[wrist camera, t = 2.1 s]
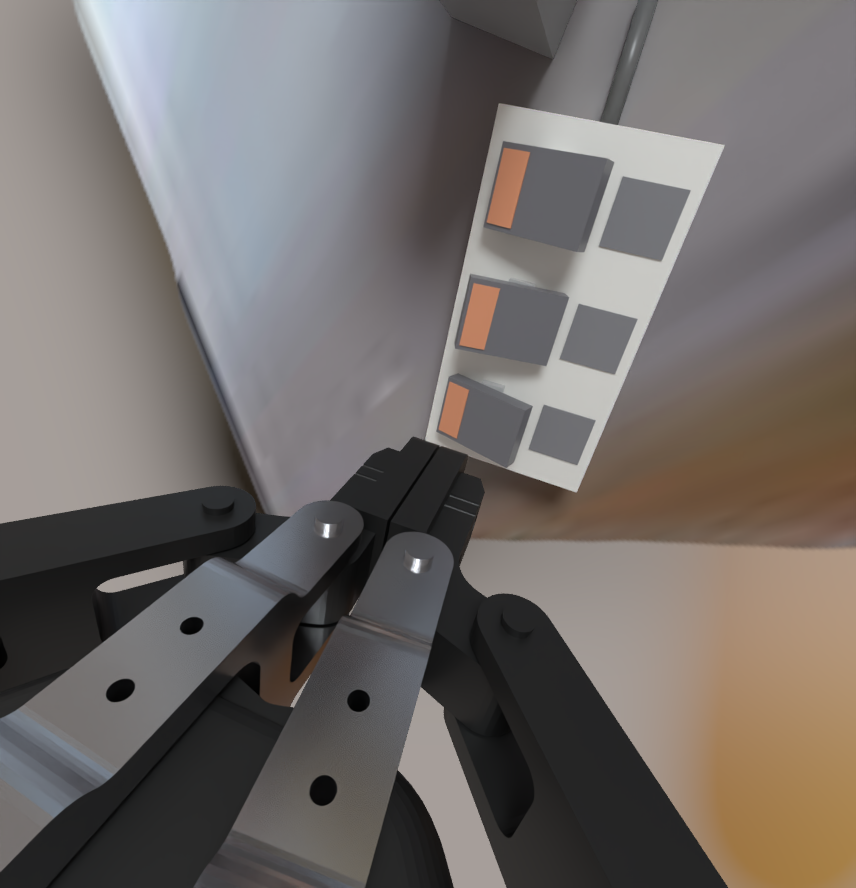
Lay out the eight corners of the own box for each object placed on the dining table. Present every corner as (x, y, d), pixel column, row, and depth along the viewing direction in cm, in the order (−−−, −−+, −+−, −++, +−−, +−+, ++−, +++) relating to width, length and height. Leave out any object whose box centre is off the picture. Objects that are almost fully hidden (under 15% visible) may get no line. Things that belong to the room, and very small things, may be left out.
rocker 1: (614, 162, 24) (607, 158, 23) (584, 252, 26) (576, 252, 25) (512, 145, 27) (502, 140, 26) (492, 228, 29) (482, 227, 28)
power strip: (769, 9, 24) (803, -33, 20) (578, 467, 38) (576, 497, 34) (542, -22, 27) (532, -64, 23) (439, 422, 40) (421, 445, 36)
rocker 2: (564, 293, 29) (569, 297, 28) (542, 359, 31) (546, 366, 30) (470, 273, 29) (471, 277, 28) (454, 342, 31) (455, 349, 30)
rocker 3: (532, 406, 31) (524, 410, 30) (514, 462, 33) (505, 468, 32) (458, 373, 34) (448, 376, 33) (445, 427, 36) (435, 431, 35)
